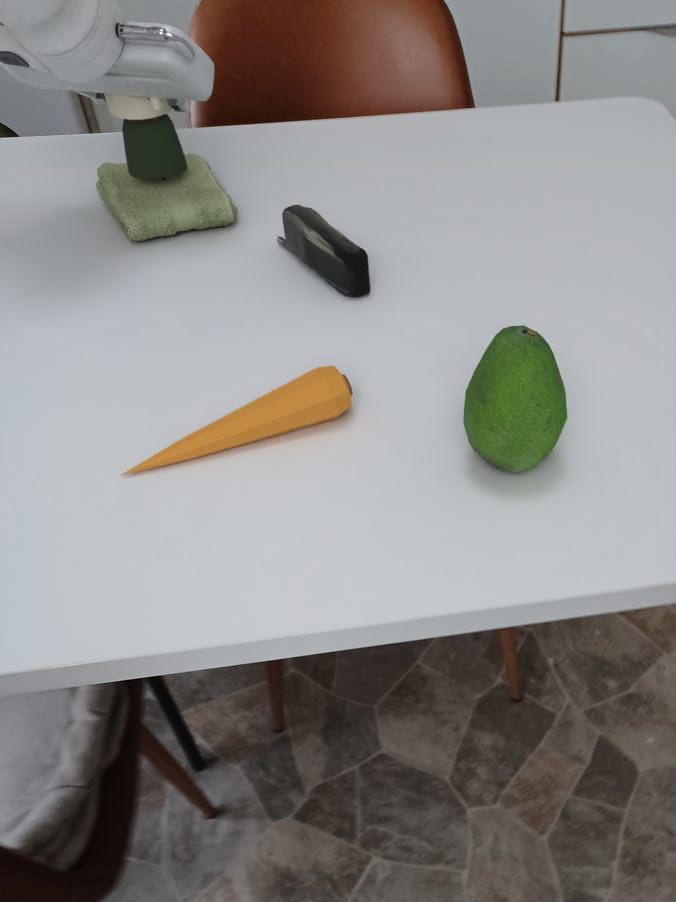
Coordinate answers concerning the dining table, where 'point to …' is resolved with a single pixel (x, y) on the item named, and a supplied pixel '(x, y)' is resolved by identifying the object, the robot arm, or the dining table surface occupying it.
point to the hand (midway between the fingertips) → (145, 101)
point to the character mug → (148, 136)
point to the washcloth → (165, 200)
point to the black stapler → (326, 250)
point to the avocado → (515, 401)
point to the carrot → (264, 417)
